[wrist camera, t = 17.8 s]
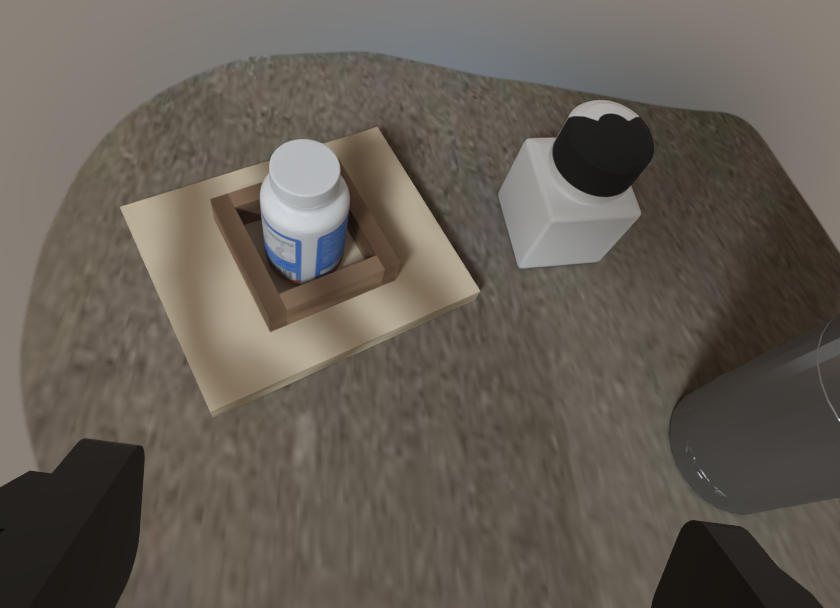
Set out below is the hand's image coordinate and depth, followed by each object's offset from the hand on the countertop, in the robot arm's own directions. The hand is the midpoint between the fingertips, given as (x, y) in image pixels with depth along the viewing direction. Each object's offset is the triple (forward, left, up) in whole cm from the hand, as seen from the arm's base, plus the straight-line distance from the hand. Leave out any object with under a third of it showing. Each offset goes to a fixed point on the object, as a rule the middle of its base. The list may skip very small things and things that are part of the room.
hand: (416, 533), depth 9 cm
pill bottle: (-8, -20, -29) cm, 36 cm away
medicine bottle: (-27, -15, -31) cm, 44 cm away
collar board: (-8, -20, -31) cm, 37 cm away
